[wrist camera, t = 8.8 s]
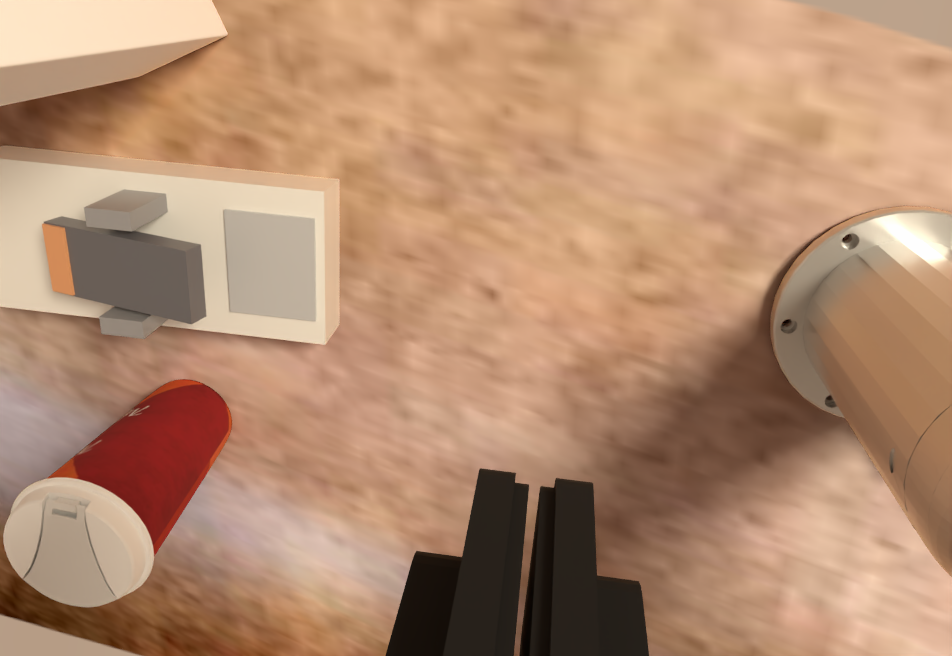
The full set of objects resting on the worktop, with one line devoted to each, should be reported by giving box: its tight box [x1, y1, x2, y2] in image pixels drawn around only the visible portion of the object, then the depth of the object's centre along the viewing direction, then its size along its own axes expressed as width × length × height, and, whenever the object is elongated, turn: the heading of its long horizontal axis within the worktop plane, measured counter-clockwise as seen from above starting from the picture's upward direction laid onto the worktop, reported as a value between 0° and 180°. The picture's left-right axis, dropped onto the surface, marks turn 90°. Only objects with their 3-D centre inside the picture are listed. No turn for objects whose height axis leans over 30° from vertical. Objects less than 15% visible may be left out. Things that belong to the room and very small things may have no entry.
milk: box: [0, 0, 228, 106], centre depth 31 cm, size 6×6×22 cm
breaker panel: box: [0, 145, 340, 345], centre depth 43 cm, size 20×9×7 cm, turn 86°
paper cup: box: [3, 379, 232, 607], centre depth 45 cm, size 8×8×14 cm
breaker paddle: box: [42, 216, 206, 324], centre depth 41 cm, size 9×4×1 cm, turn 86°
